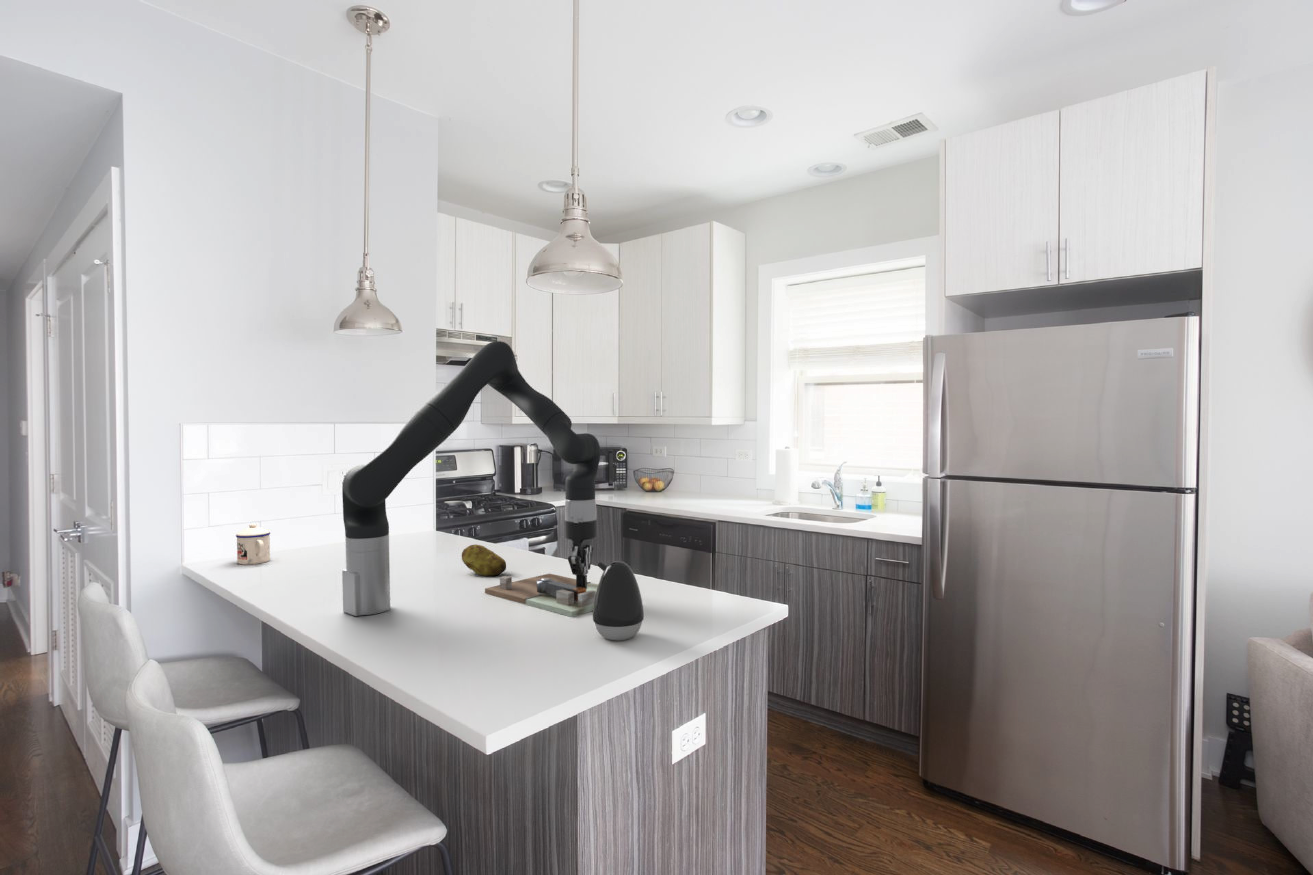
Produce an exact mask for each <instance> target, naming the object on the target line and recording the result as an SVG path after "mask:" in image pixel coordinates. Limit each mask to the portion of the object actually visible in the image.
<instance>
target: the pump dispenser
mask: <svg viewBox="0 0 1313 875" xmlns="http://www.w3.org/2000/svg"><path fill="white" fill-rule="evenodd" d="M597 567H599V569H601V570H602V571H603V572H602V574H601V576H600V579H599V582H598V584H599V585H598V588H597V592H596V596H595V601H594V608H593V611H592V620H593V623H594V626H595V629H596V630H597V632H598V634H599V635H601V637H603V638H604V639H606V640H609V641H614V642H615V641H617V642H618V641H619V642H621V641H626V640H629V639H631V638H633V637H634V636H636V635H637V634H638V633H639V631H640V629H641V627H642V624H643V621H644V616H645V613H644V604H643V599H642V594H641V591H640V587H639V584H638V580H637V578H636V575H635V573H634V572H633V569H632V568H631V566H629V565H628V564H627V563H625V562H624V561H619V560H616V561H613V562H610V563H609V564H608V565H607V564H605V563H604V562H602V561H599V562H598V563H597Z"/></svg>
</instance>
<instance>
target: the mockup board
mask: <svg viewBox="0 0 1313 875" xmlns="http://www.w3.org/2000/svg"><path fill="white" fill-rule="evenodd" d="M543 578H548V579H553V581H557V582H561V583H565V584H569V585H574V586H576V578H571V577H567V576H562V575H560V574H559V575H558V574H554V573H550V572H549V573H546V574H541V575H537V576H533V577H528V578H524V579H519V580H515V581H512V577H511V576H508V575H504V576H499V585H494V586H490V587H489V586H488V587H486V588H484V593H485V594H486V595H490V596H495V597H497V598H501V599H505V600H508V601H513V602H515V603H519V604H523V605H525V606H526V605H527V606H530V607H533V608H537V609H541V610H545V611H548V612H553V613H555V614H559V615H563V616H566V617H569V618H574V617H576V616H580V615H584V614H586V613H590V612H593V608H594V601H595V596H596V592H597V588H598V585H599V583H595V582H591V581H587V589H586V592H584V593H580V594H578V601H574V592H571V591H567V590H563V589H562V590H558V591H556V596H555V595H551V594H547V593H538V592H537V580H539V579H543Z"/></svg>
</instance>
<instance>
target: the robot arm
mask: <svg viewBox="0 0 1313 875" xmlns="http://www.w3.org/2000/svg"><path fill="white" fill-rule="evenodd" d="M487 385H488V386H490V387H491V388H492V389H493V390H495V391H496V392H498V393H499V394H500V395H501V396H504V397H505V398H506V399H507V400H509V402H511V403H513V404H514V405H515V406H516V407H517V408H518V409H520V411H521V412H522V413H523V414H524V415H525V416H527V418H528V419H529V420H530V421H532V423H533V424H534V425H535V426H536V427H537V428H538V429H539V430H540V431H541V432H542V434H544V435H545V436H546V437H547V439H548V440H549V443H550V444H551V446H552V447H553V449H554V451H555V452H556V454H557V456H558V457H560V459H561V460H562V461H564V462H565V463H567V464H570V465H573V470H572V473H570V474H568V476H567V477H566V478H565V483H564V484H565V486H564V487H565V489H564V490H565V493H564V494H565V502H564V537H565V538H566V539H567V540H571V541H572V543H571V547H570V554H571V555H569V556H568V557H567V561H568V564H569V567H570V570H571V574H572V575H575V577H576V578H575V579H576V586H578V587H583V588H586V589H587V582H588V574H589V570H591V567H592V566H591V565H592V560H593V554H594V547H593V546H592V544H591V540H593V539H596V538H597V536H598V525H597V524H598V522H597V516H598V515H597V514H598V513H597V510H598V509H597V503H596V478H597V474H598V470H599V465H600V458H601V446H600V442H599V441H598V438H597V437H596V436H594V434H592V433H576V432H575V431H573V429H572V426H573V425H572V422H573V421H572V419H571V418H570V416H569V415H568V414H567V413H566V412H565V411H564V410H563V409H561V407H560V406H558V405H557V404H556V403H555V402H554V401H553V400H552V399H551V398H549V397H548V396H546V395H545V394H543V393H541V392H540V391H539V392H538V391H537V390H536V389H534V388H533V387H532V386H531V385H530V384H529V382H527V380H526V378H524V377H523V375H522V373H521V372H520V371H519V367H518V364H517V361H516V356H515V354H514V351H513V349H512V347H511V346H510V345H509V344H508V343H507V342H505V341H501V340H496V341H492V342H489V343H486V344H485V345H483V346H482V347H480V349H479V350H478V351H477V352H476V353H475V354H474V355H473V356H472V357H471V359H470V360H469V361H468V362H467V363H466V364H465V365H464V367H463V368H462V369H461V370H460V371H459V372H458V373H457V374H456V375H455V376H454V377H453V378H452V379H451V380H450V381H449V382H448V383H447V384H446V385H444V387H442V389H440V390H439V391H438V392H437V394H435V395H434V396H433V397H432V398H431V399H430V400H428V401H427V402H426V403H425V404H423V406H421V407H420V408H419V409H418V410H417V411H416V412H415V413H414V414H413V415H412V416H411V417H410V418H409V419H408V420H407V422H406V423H405V424H404V426H403V427H402V429H401V430H400V431H399V432H398V434H397V436H396V437H395V438H394V440H393V441H392V442H391V444H389V445H388V446H387V447H386V448H385V450H383V451H382V452H381V453H380V454H378V455H377V456H376V457H375V458H373V459H372V460H371V461H370V462H369V461H368V463H366V464H359V465H355V466H354V467H352V468H350V469H349V470H348V471H347V472H346V474H345V475H344V477H343V480H342V492H341V493H342V494H341V495H342V516H343V518H342V519H343V526H344V535H345V536H344V538H345V569H343V570H342V574H341V576H342V582H341V583H342V612H344V613H346V614H349V615H351V616H353V617H359V616H364V615H365V616H369V615H370V616H371V615H376V614H379V613H380V614H381V613H384V612H387V611H388V610H390V609H391V575H390V573H391V570H390V569H391V567H390V561H391V560H390V524H389V519H388V516H387V511H386V510H387V508H386V504H387V503H386V500H387V498H388V497H389V496H390V495H391V494H392V492H393V491H395V489H396V488H397V487H398V485H399V484H400V483H401V482H402V481H403V480H404V478H406V476H407V475H408V474H409V473H410V472H411V471H412V470H413V468H415V467H416V466H417V465H418V464H420V462H422V461H423V460H425V458H427V457H428V456H429V455H430V454H432V452H433V451H435V450H436V449H437V448H438V447H439V446H440V445H441V444H443V443H444V442H445V441H446V440H447V439H448V438H449V437H450V436H451V435H452V434H453V433H454V432H455V431H456V430H457V429H458V428H459V427H460V426H461V424H462V423H463V421H464V419H465V418H466V416H467V414H468V412H469V410H470V408H471V406H472V405H473V402H474V401H475V399H476V397H477V396H478V394H479V393H480V392H481V391H482V390H483V389H484V387H486V386H487Z"/></svg>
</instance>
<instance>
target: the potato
mask: <svg viewBox="0 0 1313 875" xmlns="http://www.w3.org/2000/svg"><path fill="white" fill-rule="evenodd" d="M461 560H462V563H463V564H464V565H465V566H466V567H467V568H468V569H469V570H470V571H473V572H474V573H475V574H477V575H479V576H485V577H486V576H487V577H489V576H490V577H491V576H498V575H501V574H503V573H504V572H506V570H507V563H506V560H505V559H504V558H503V557H501V556H499V555H498V554H496V553H495V552H494V551H492V550H491V549H489V548H487V547H486V546H483V545H481V544H471V545H469V546H466V547H465V548H463V550H462V552H461Z"/></svg>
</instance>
